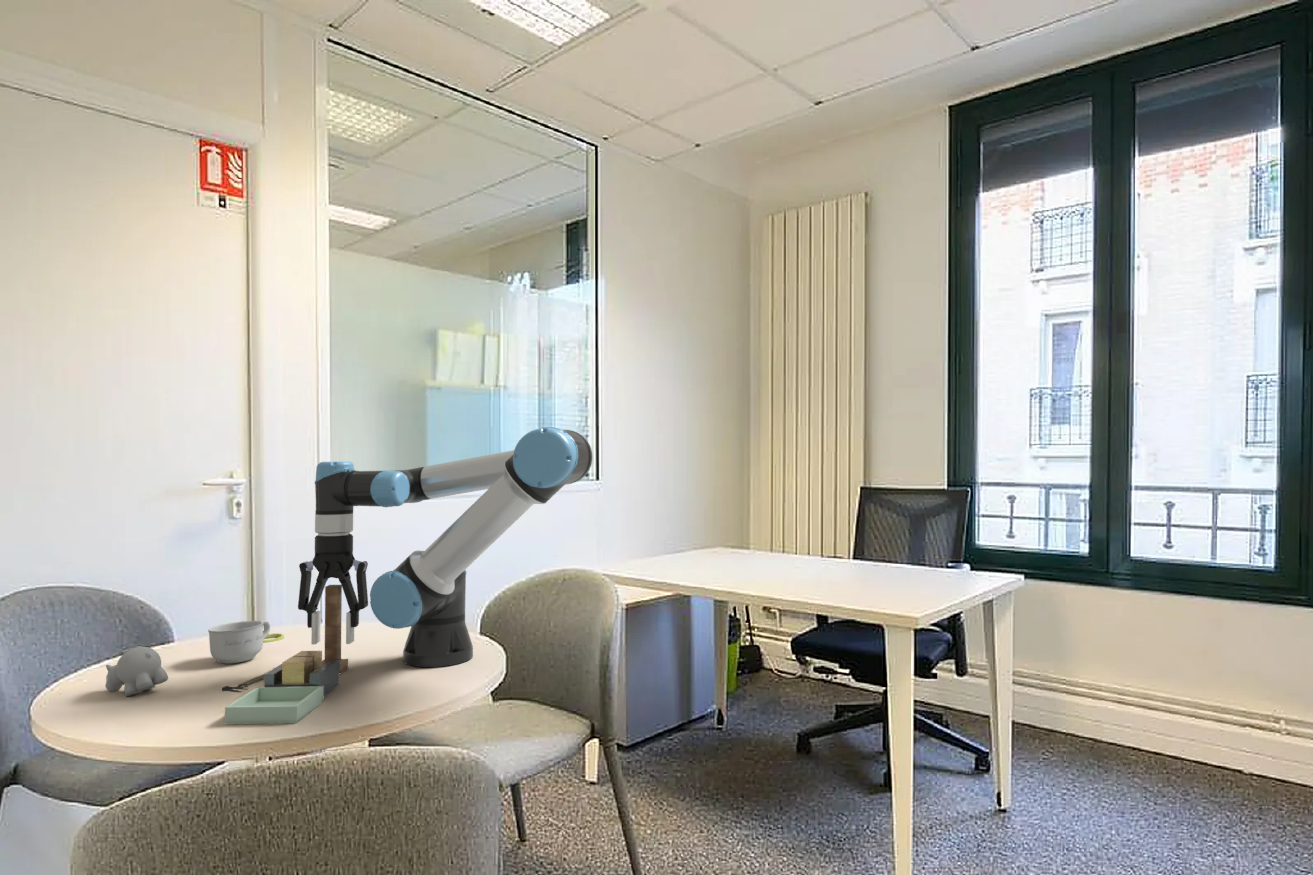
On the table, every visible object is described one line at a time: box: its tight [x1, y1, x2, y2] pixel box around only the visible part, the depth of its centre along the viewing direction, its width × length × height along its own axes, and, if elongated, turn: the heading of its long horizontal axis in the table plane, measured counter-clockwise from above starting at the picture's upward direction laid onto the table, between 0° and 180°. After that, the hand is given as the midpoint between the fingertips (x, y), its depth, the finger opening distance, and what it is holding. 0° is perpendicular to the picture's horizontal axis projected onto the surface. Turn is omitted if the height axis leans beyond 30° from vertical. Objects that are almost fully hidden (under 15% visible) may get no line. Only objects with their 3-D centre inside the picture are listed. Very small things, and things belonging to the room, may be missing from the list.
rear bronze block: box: [292, 650, 323, 671], centre depth 148 cm, size 4×4×4 cm
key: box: [263, 632, 285, 644], centre depth 190 cm, size 7×12×2 cm, turn 65°
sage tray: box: [224, 686, 324, 725], centre depth 135 cm, size 12×12×3 cm
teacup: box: [207, 619, 271, 665], centre depth 171 cm, size 14×11×8 cm
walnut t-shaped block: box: [322, 584, 349, 674], centre depth 161 cm, size 5×4×18 cm
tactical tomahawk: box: [221, 672, 267, 693], centre depth 157 cm, size 21×7×1 cm, turn 165°
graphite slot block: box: [263, 659, 340, 698], centre depth 146 cm, size 10×10×5 cm
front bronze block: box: [281, 656, 313, 684], centre depth 144 cm, size 4×4×4 cm
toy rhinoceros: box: [105, 646, 169, 697], centre depth 147 cm, size 7×12×8 cm, turn 74°
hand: (333, 642), depth 161 cm, fingers open, 6 cm apart
